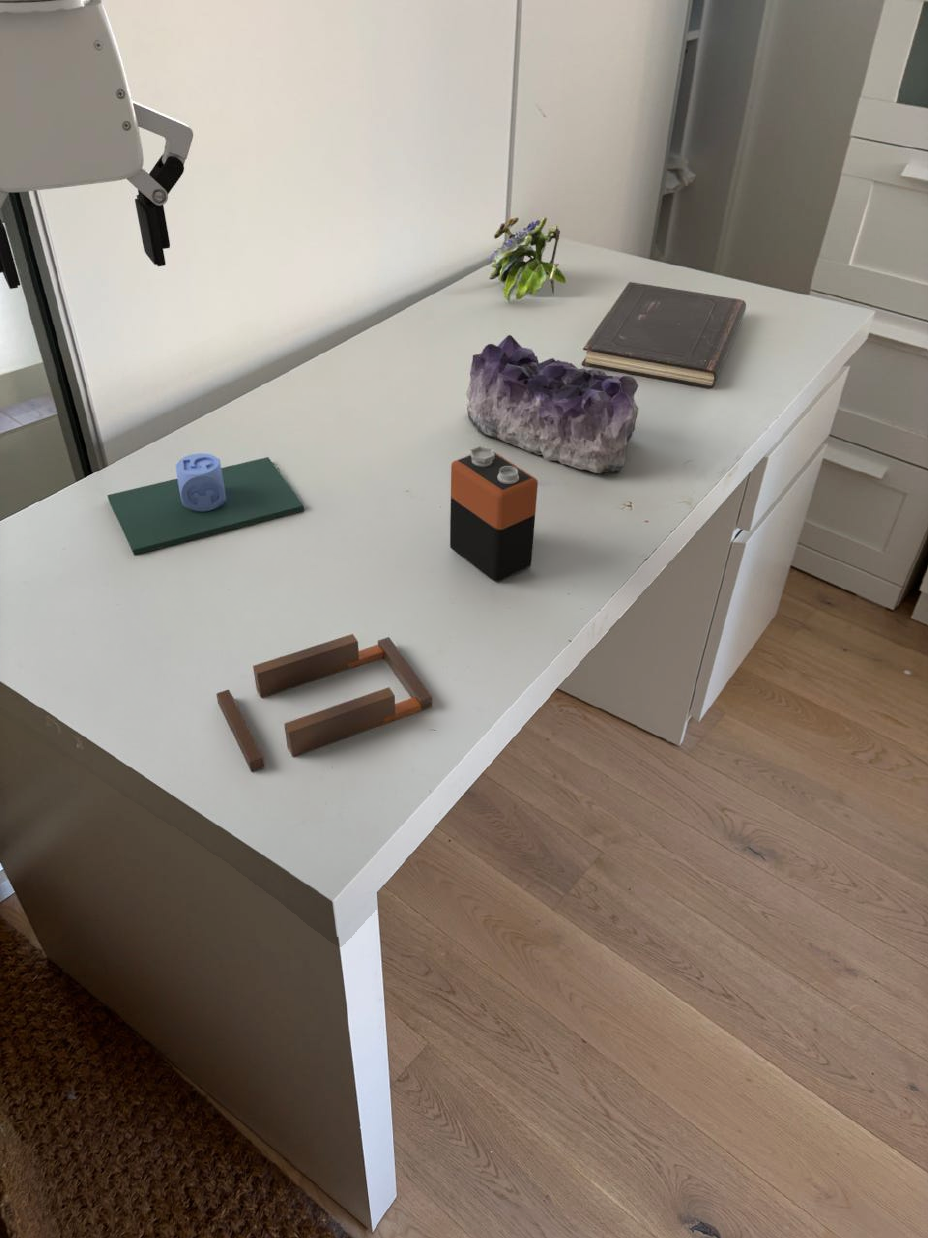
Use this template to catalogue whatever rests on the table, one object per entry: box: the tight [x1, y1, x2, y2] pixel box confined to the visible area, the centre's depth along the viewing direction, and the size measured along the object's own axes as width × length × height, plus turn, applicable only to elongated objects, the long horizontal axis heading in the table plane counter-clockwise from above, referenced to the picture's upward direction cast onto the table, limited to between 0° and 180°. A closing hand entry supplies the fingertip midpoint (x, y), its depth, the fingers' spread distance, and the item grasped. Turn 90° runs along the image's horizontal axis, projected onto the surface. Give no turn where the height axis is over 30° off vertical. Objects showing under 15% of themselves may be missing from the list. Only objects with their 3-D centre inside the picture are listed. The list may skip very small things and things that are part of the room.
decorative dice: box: [175, 452, 226, 512], centre depth 90 cm, size 4×4×4 cm
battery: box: [449, 445, 539, 583], centre depth 83 cm, size 4×7×10 cm, turn 39°
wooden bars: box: [215, 633, 433, 772], centre depth 71 cm, size 14×8×2 cm, turn 118°
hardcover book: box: [581, 281, 747, 389], centre depth 122 cm, size 16×23×2 cm
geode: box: [465, 334, 639, 474], centre depth 100 cm, size 20×12×10 cm, turn 59°
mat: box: [107, 456, 305, 556], centre depth 92 cm, size 16×10×1 cm, turn 118°
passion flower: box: [488, 216, 567, 304], centre depth 133 cm, size 11×11×12 cm
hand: (85, 270), depth 67 cm, fingers open, 9 cm apart
